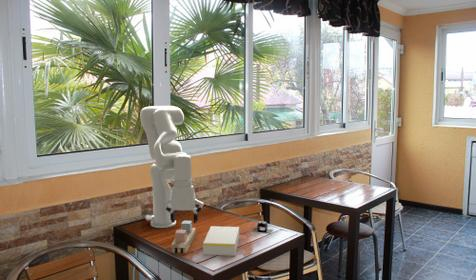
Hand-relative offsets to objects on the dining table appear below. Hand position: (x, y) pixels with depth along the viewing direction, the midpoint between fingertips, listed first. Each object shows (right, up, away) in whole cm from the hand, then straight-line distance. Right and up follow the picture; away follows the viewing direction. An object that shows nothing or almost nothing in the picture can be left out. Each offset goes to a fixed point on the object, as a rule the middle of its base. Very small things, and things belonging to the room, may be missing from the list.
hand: (184, 222), depth 173 cm
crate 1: (-1, -7, -4) cm, 8 cm away
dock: (+16, -10, -1) cm, 19 cm away
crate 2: (0, -5, +7) cm, 9 cm away
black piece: (+35, -8, +18) cm, 40 cm away
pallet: (0, -10, +2) cm, 10 cm away
